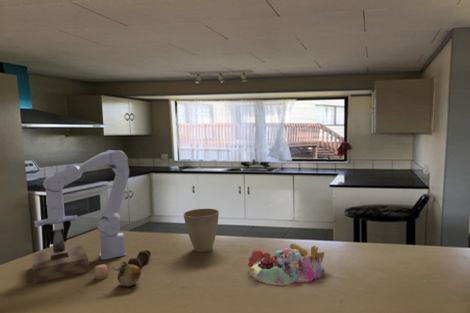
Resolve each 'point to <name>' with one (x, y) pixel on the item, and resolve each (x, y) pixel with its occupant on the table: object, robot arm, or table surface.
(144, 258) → the dark brown lumpy piece
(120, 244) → the robot arm
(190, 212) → the plant pot
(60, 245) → the dark metallic cylinder
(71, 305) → the table surface
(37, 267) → the hole block
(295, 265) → the candy landscape model
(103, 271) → the pinkish tan rounded piece
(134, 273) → the onion
